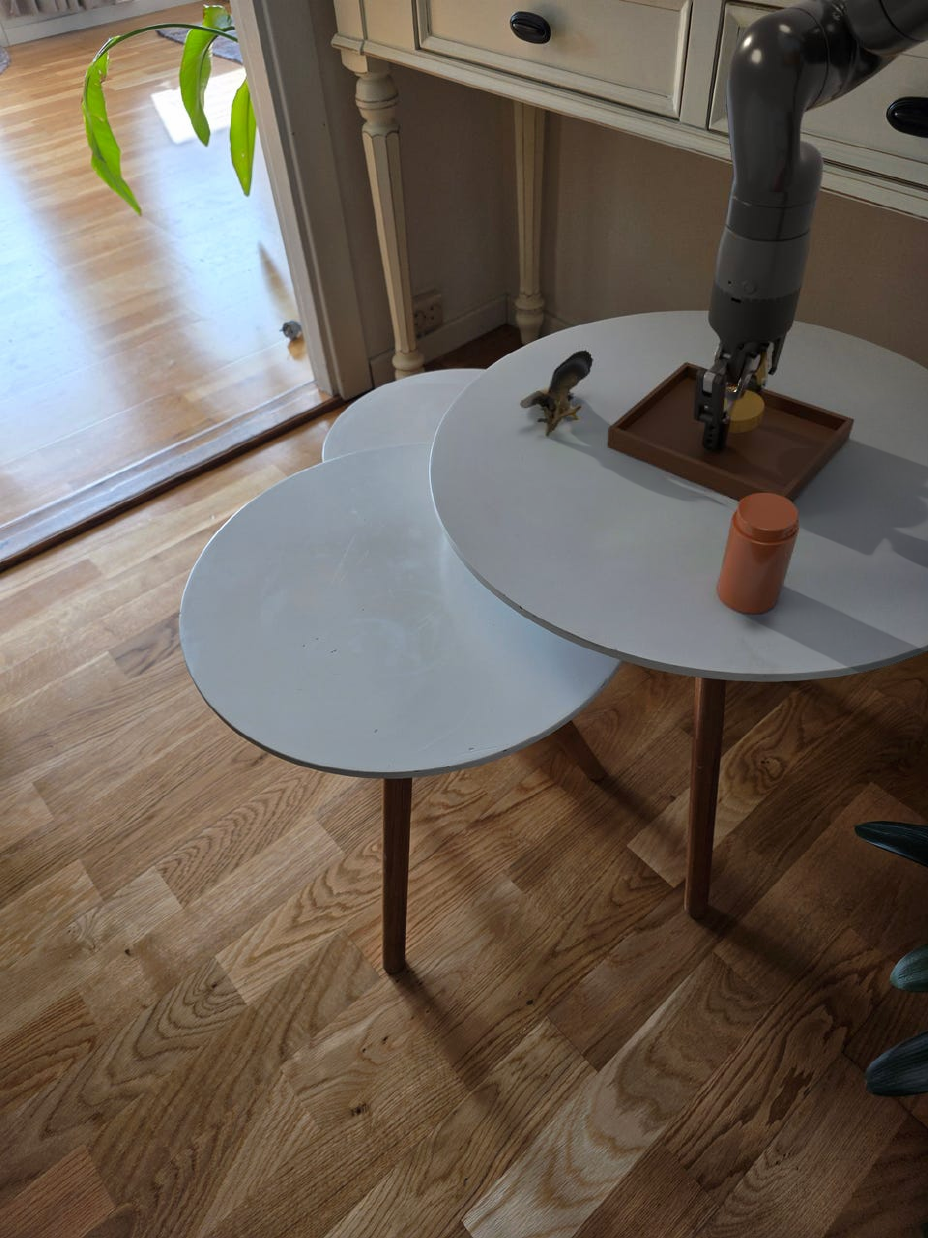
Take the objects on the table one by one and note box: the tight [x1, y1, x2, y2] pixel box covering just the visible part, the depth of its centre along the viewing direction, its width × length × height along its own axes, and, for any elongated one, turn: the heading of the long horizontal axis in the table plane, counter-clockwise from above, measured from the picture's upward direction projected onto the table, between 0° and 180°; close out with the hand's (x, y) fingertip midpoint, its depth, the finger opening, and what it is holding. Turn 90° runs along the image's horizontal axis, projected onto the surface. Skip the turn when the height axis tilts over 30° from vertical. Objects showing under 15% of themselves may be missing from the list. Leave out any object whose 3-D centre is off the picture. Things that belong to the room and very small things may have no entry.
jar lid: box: [724, 387, 764, 433], centre depth 87 cm, size 6×6×2 cm
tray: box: [606, 361, 855, 503], centre depth 89 cm, size 19×15×2 cm
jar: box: [716, 493, 800, 615], centre depth 72 cm, size 5×5×9 cm
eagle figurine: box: [519, 350, 594, 437], centre depth 93 cm, size 8×7×9 cm
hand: (728, 433), depth 89 cm, fingers closed on jar lid, 5 cm apart
